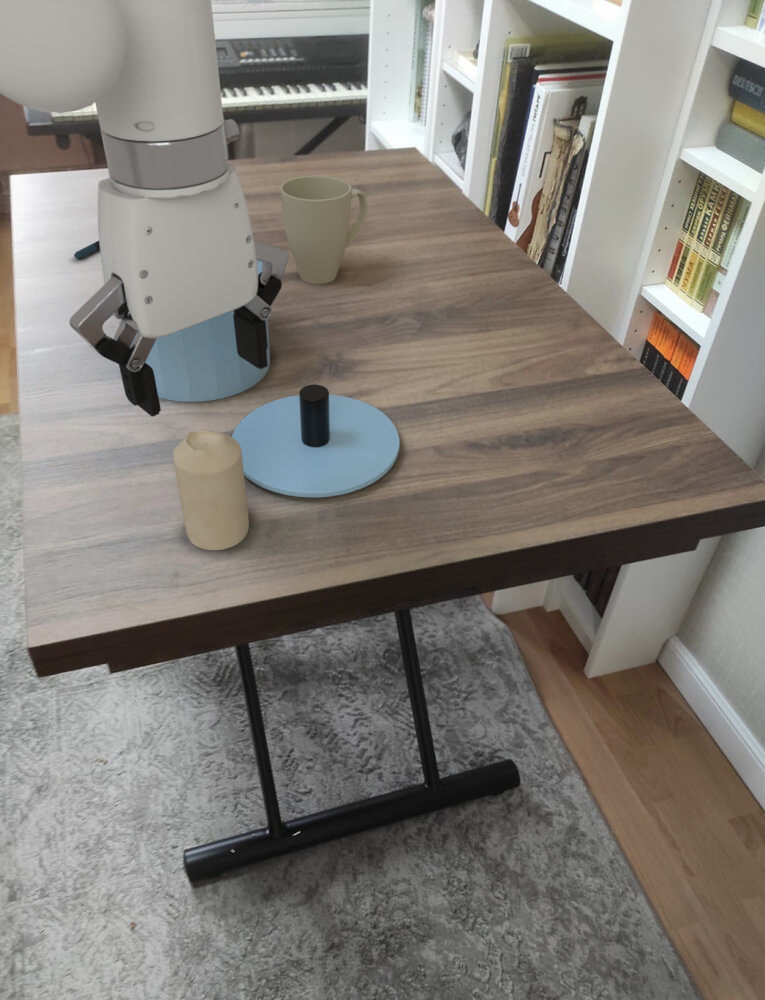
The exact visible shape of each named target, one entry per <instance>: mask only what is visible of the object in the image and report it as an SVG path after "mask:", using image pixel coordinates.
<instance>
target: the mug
mask: <svg viewBox="0 0 765 1000" xmlns="http://www.w3.org/2000/svg"><path fill="white" fill-rule="evenodd" d="M279 188H280V199H281V208H282V215H283V222H284V224H283V225H284V232H285V235H286V240H287V241H286V242H287V244H288V247H289V250H290V254H291V256H292V259H293V261H294V263H295V266H296V269H297V272H298V274H299V277H300V279H301V280H302V281H303V282H305V283H308V284H311V285H324V284H329V283H331V282H333V281H335V280H336V278H337V275H338V273H339V269H340V266H341V263H342V260H343V257H344V253H345V250H346V249H347V248H348V247H349V246H350V244H351V243H352V242H353V240H354V239H355V237H356V236H357V234H358V233H359V232H360V230H361V228H362V227H363V225H364V223H365V220H366V217H367V213H368V212H367V211H368V202H367V201H368V200H367V197H366V195H365V193H364V192H363V191H362V190H360V189H357V188H352V186H351V184H350V183H349V182H348V181H346V180H344V179H342V178H339V177H335V176H331V175H330V176H329V175H317V174H313V175H301V176H296V177H293V178H289V179H287V180H285V181H284V182H282V183H281V184H280V187H279ZM355 196H357V197H358V202H359V203H358V204H359V209H358V214H357V216H356V217H357V218H356V220H355V222H354V223H353V225H352V227H351V228H350V219H351V204H352V199H354V197H355Z"/></svg>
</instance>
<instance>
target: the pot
mask: <svg viewBox="0 0 765 1000" xmlns="http://www.w3.org/2000/svg"><path fill="white" fill-rule="evenodd" d="M262 266H263V262H261V261H257V268H258V275H259V274H260V273H261V272H262ZM237 309H238V308H237ZM233 315H234V310H233V311H230V312H228V313H225V314H223V315H220V316H217V317H215V318H212V319H210V320H207V321H204V322H202V323H199V324H197V325H194V326H191V327H189V328H186V329H183V330H181V331H178V332H175V333H173V334H170V335H167V336H164V337H160V338H157V339H156V341H155V343H154V345H153V347H152V349H151V351H150V354H149V356H148V358H147V360H146V362H145V363H146V364H148V365H149V366H150V367H152V369H153V372H154V377H155V382H156V387H157V392H158V397H159V399H163V400H168V401H173V402H183V403H200V402H201V403H202V402H210V401H217V400H222V399H226V398H229V397H233V396H236V395H239V394H241V393H243V392H245V391H247V390H249V389H251V388H253V387H254V386H256V384H258V383H259V382H261V380H263V378H264V377H265V376H266V374H267V373H268V371H269V370H270V369H269V368H270V365H271V360H270V359H271V347H270V346H271V345H270V334H269V332H270V331H269V319H267V320H265V322H266V333H267V345H268V348H267V350H266V351H267V363H268V366H267V367H265V368H263V369H260V368H257V367H255V366H254V365H252V364H250V363H249V362H247V361H246V360H244V359H243V358H241V357H240V356H239V355H238V353H237V345H236V336H235V327H234V318H233ZM118 321H119V324H120V323H121V321H122V319H118ZM137 334H138V332H137ZM137 334H136V336H137ZM136 336H135V338H136ZM134 340H135V339H134ZM133 342H134V341H133ZM132 344H133V343H132ZM131 346H132V345H131ZM130 348H131V347H130Z"/></svg>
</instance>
